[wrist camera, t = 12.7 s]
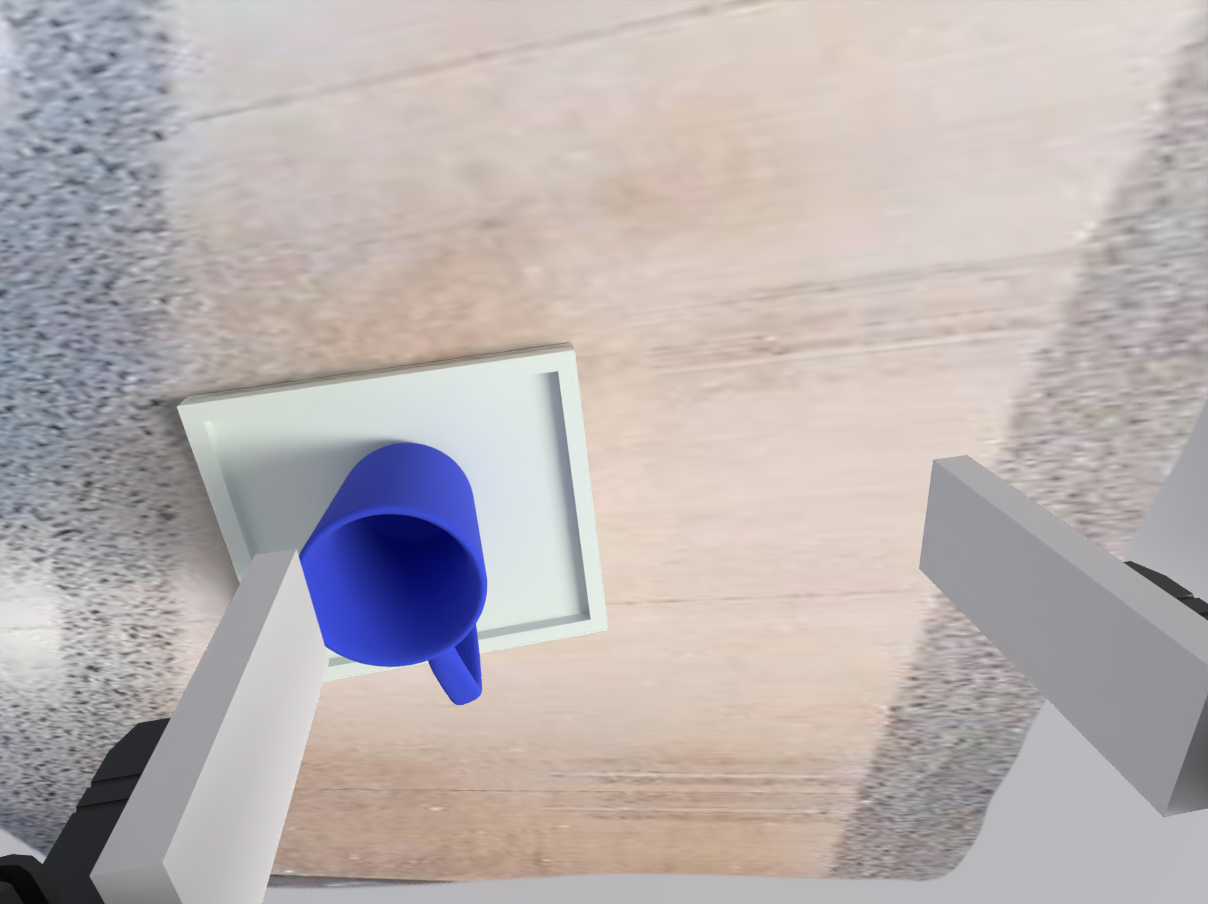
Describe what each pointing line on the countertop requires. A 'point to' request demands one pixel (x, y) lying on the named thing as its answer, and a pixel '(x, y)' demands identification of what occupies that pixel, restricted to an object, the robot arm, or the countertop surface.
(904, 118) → the countertop surface
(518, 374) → the tray
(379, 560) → the mug
